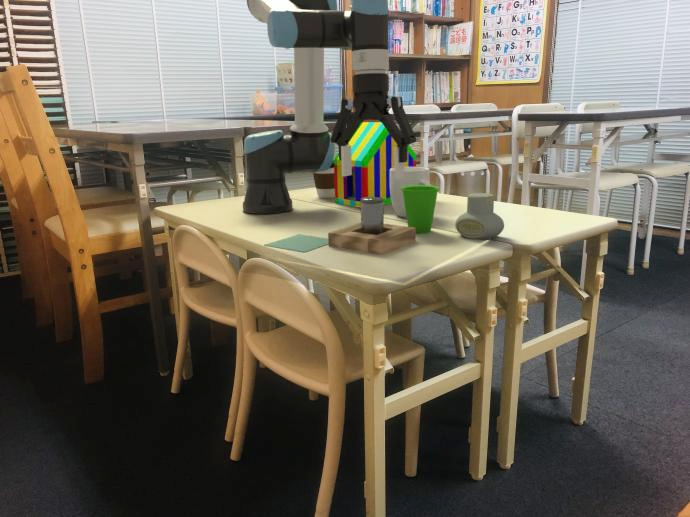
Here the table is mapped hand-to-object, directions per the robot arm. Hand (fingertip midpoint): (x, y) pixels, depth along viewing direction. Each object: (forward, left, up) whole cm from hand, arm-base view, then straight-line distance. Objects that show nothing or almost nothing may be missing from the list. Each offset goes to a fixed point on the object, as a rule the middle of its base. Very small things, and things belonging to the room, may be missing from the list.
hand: (372, 177), depth 118 cm
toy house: (-32, +50, -16) cm, 62 cm away
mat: (-14, -8, -15) cm, 22 cm away
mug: (-9, +33, -16) cm, 38 cm away
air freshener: (+17, +19, -16) cm, 30 cm away
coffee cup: (-51, +48, -16) cm, 72 cm away
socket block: (0, 0, -15) cm, 15 cm away
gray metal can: (0, 0, -15) cm, 15 cm away
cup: (+3, +16, -16) cm, 23 cm away
